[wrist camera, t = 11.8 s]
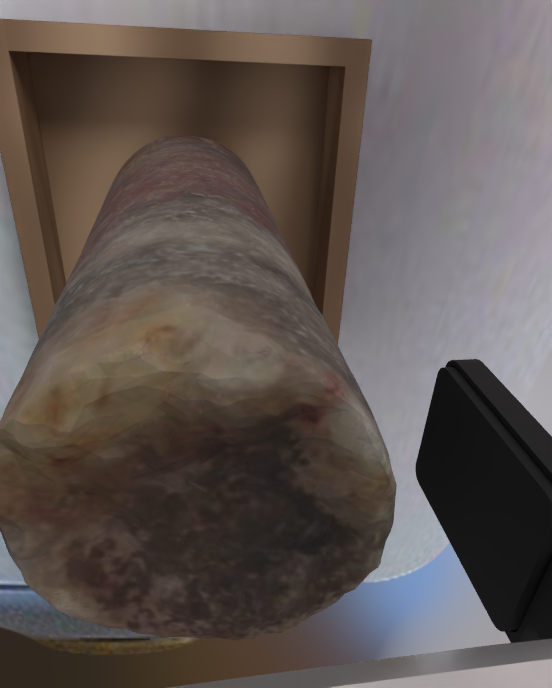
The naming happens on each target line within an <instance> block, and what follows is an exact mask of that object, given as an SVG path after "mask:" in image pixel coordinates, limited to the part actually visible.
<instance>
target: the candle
mask: <svg viewBox="0 0 552 688" xmlns="http://www.w3.org/2000/svg"><path fill="white" fill-rule="evenodd" d="M395 495H396V482H395V478H394V475H393V472H392V469H391V464H390V459H389V454H388V451H387V448H386V446H385V443H384V441H383V439H382V436H381V434H380V431H379V429H378V426H377V424H376V421H375V419H374V416H373V414H372V412H371V409H370V407H369V405H368V403H367V401H366V400H365V398H364V396H363V394H362V392H361V390H360V388H359V386H358V384H357V382H356V380H355V378H354V376H353V374H352V373H351V371H350V369H349V367H348V365H347V363H346V361H345V359H344V357H343V355H342V353H341V351H340V349H339V347H338V345H337V343H336V341H335V339H334V337H333V335H332V333H331V331H330V329H329V327H328V325H327V323H326V321H325V319H324V318H323V316H322V315H321V313H320V311H319V310H318V308H317V307H316V305H315V303H314V300H313V298H312V295H311V293H310V291H309V289H308V287H307V285H306V283H305V281H304V279H303V277H302V275H301V273H300V271H299V269H298V267H297V265H296V263H295V261H294V259H293V257H292V256H291V254H290V251H289V250H288V248H287V246H286V244H285V243H284V240H283V238H282V236H281V234H280V231H279V229H278V226H277V224H276V222H275V219H274V217H273V215H272V213H271V212H270V210H269V208H268V206H267V204H266V202H265V200H264V198H263V195H262V193H261V191H260V189H259V187H258V185H257V184H256V182H255V180H254V178H253V177H252V175H251V173H250V171H249V170H248V168H247V167H246V165H245V164H244V163H243V162H242V161H241V160H240V159H239V157H238V156H237V155H236V154H234V153H233V152H232V151H231V150H229V149H228V148H226V147H225V146H224V145H222V144H220V143H218V142H216V141H214V140H210V139H205V138H200V137H195V136H167V137H162V138H160V139H157V140H155V141H153V142H151V143H149V144H147V145H145V146H143V147H141V148H140V149H139V150H138V151H136V152H135V153H134V154H133V155H132V156H131V157H130V158H129V159H128V160H127V161H126V162H125V164H124V165H123V166H122V167H121V169H120V170H119V172H118V173H117V175H116V177H115V179H114V181H113V183H112V185H111V187H110V189H109V191H108V193H107V195H106V198H105V200H104V203H103V205H102V207H101V210H100V212H99V214H98V216H97V218H96V220H95V223H94V225H93V227H92V229H91V231H90V233H89V236H88V238H87V240H86V243H85V245H84V247H83V250H82V253H81V255H80V257H79V258H78V261H77V263H76V265H75V267H74V269H73V271H72V273H71V275H70V277H69V279H68V281H67V283H66V285H65V287H64V289H63V291H62V293H61V295H60V297H59V298H58V300H57V302H56V304H55V306H54V308H53V310H52V312H51V315H50V317H49V320H48V322H47V325H46V327H45V329H44V331H43V333H42V335H41V337H40V339H39V341H38V343H37V345H36V347H35V349H34V351H33V353H32V356H31V358H30V360H29V362H28V365H27V367H26V369H25V371H24V373H23V376H22V378H21V380H20V381H19V383H18V385H17V387H16V389H15V390H14V392H13V394H12V397H11V399H10V401H9V403H8V405H7V407H6V409H5V412H4V414H3V417H2V419H1V421H0V531H1V533H2V536H3V539H4V541H5V544H6V547H7V549H8V552H9V554H10V556H11V557H12V559H13V561H14V562H15V564H16V565H17V567H18V568H19V569H20V571H21V573H22V575H23V578H24V580H25V582H26V584H27V585H28V586H29V587H30V588H31V589H32V590H33V591H35V592H36V593H37V594H38V595H39V596H41V597H42V598H43V599H45V600H46V601H47V602H48V603H49V604H50V605H51V606H52V607H53V608H54V609H56V610H58V611H60V612H62V613H64V614H66V615H68V616H70V617H73V618H76V619H80V620H85V621H88V622H91V623H94V624H98V625H101V626H106V627H110V628H121V629H128V630H131V631H133V632H136V633H139V634H150V635H155V636H160V637H197V638H222V639H230V640H243V639H252V638H256V637H259V636H262V635H266V634H271V633H281V632H282V631H284V630H286V629H289V628H291V627H294V626H296V625H298V624H300V623H301V622H303V621H304V620H306V619H307V618H309V617H310V616H312V615H313V614H316V613H318V612H321V611H323V610H324V609H326V608H327V607H329V606H330V605H332V604H333V603H335V602H337V601H338V600H339V599H340V598H341V597H342V596H343V595H344V594H345V593H347V592H349V591H352V590H354V589H355V588H356V587H357V586H358V585H359V584H360V583H361V582H362V581H363V580H364V579H365V578H366V577H367V576H368V575H369V573H370V572H372V571H373V570H375V569H376V568H378V566H379V565H380V563H381V557H382V553H383V549H384V545H385V542H386V539H387V537H388V535H389V533H390V531H391V528H392V525H393V519H394V506H395Z"/></svg>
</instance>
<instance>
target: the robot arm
mask: <svg viewBox="0 0 552 688" xmlns="http://www.w3.org/2000/svg"><path fill="white" fill-rule="evenodd" d="M416 476H417V480H418V482H419V484H420V486H421V488H422V490H423V492H424V494H425V496H426V498H427V500H428V501H429V503H430V505H431V507H432V509H433V511H434V513H435V515H436V517H437V518H438V520H439V522H440V524H441V526H442V528H443V530H444V532H445V534H446V535H447V537H448V539H449V541H450V543H451V545H452V547H453V549H454V551H455V552H456V554H457V556H458V558H459V560H460V562H461V564H462V566H463V568H464V569H465V571H466V573H467V575H468V577H469V579H470V581H471V583H472V584H473V587H474V588H475V590H476V592H477V594H478V596H479V598H480V599H481V602H482V603H483V605H484V607H485V609H486V611H487V613H488V615H489V616H490V618H491V620H492V622H493V624H494V625H495V627H496V628H497V629H498V630H500V631H505V632H506V634H507V636H508V638H509V640H510V642H511V643H508V644H498V645H490V646H482V647H474V648H466V649H459V650H451V651H443V652H435V653H428V654H419V655H411V656H403V657H396V658H388V659H380V660H372V661H365V662H356V663H349V664H341V665H334V666H326V667H318V668H311V669H303V670H296V671H288V672H280V673H273V674H266V675H258V676H250V677H243V678H235V679H228V680H221V681H213V682H205V683H198V684H190V685H183V686H175V687H168V688H552V437H551V435H550V434H549V433H548V432H547V431H546V430H545V429H544V428H543V427H542V426H541V425H540V424H539V423H538V421H537V420H536V419H535V418H534V417H533V416H532V415H531V414H530V413H529V412H528V411H527V410H526V409H525V408H524V406H523V405H522V404H521V403H520V402H519V401H518V400H517V399H516V398H515V397H514V396H513V395H512V394H511V393H510V391H509V390H508V389H507V388H506V387H505V386H504V385H503V384H502V383H501V382H500V381H499V380H498V379H497V378H496V376H495V375H494V374H493V373H492V372H491V371H490V370H489V369H488V368H487V367H486V366H485V365H484V364H483V363H482V362H481V361H480V360H477V359H470V360H451V361H449V362H448V363H447V365H446V367H445V368H441V369H440V370H439V372H438V375H437V379H436V383H435V387H434V391H433V395H432V399H431V404H430V408H429V412H428V416H427V420H426V424H425V429H424V433H423V437H422V441H421V445H420V450H419V454H418V458H417V462H416Z"/></svg>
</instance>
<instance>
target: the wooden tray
mask: <svg viewBox="0 0 552 688" xmlns="http://www.w3.org/2000/svg"><path fill="white" fill-rule="evenodd" d="M371 44H372V40H370V39H352V38H334V37H316V36H299V35H281V34H263V33H245V32H227V31H209V30H191V29H174V28H156V27H138V26H120V25H102V24H84V23H66V22H49V21H31V20H13V19H0V151H1V156H2V161H3V166H4V171H5V176H6V181H7V185H8V190H9V195H10V200H11V205H12V210H13V215H14V220H15V224H16V229H17V234H18V239H19V244H20V249H21V254H22V258H23V263H24V268H25V273H26V278H27V283H28V288H29V292H30V297H31V302H32V307H33V312H34V317H35V322H36V327H37V331H38V336H39V339H40V337H41V335H42V333H43V331H44V329H45V327H46V325H47V322H48V320H49V317H50V315H51V312H52V310H53V308H54V306H55V304H56V302H57V300H58V298H59V297H60V295H61V293H62V291H63V289H64V287H65V285H66V283H67V281H68V279H69V277H70V275H71V273H72V271H73V269H74V267H75V265H76V263H77V261H78V258H79V257H80V255H81V253H82V250H83V247H84V245H85V243H86V240H87V238H88V236H89V233H90V231H91V229H92V227H93V225H94V223H95V220H96V218H97V216H98V214H99V212H100V210H101V207H102V205H103V203H104V200H105V198H106V195H107V193H108V191H109V189H110V187H111V185H112V183H113V181H114V179H115V177H116V175H117V173H118V172H119V170H120V169H121V167H122V166H123V165H124V164H125V162H126V161H127V160H128V159H129V158H130V157H131V156H132V155H133V154H134V153H135V152H136V151H138V150H139V149H140V148H141V147H143V146H145V145H147V144H149V143H151V142H153V141H155V140H157V139H160V138H162V137H167V136H195V137H200V138H205V139H210V140H214V141H216V142H218V143H220V144H222V145H224V146H225V147H226V148H228V149H229V150H231V151H232V152H233V153H234V154H236V155H237V156H238V157H239V159H240V160H241V161H242V162H243V163H244V164H245V165H246V167H247V168H248V170H249V171H250V173H251V175H252V177H253V178H254V180H255V182H256V184H257V185H258V187H259V189H260V191H261V193H262V195H263V198H264V200H265V202H266V204H267V206H268V208H269V210H270V212H271V213H272V215H273V217H274V219H275V222H276V224H277V226H278V229H279V231H280V234H281V236H282V238H283V240H284V243H285V244H286V246H287V248H288V250H289V251H290V254H291V256H292V257H293V259H294V261H295V263H296V265H297V267H298V269H299V271H300V273H301V275H302V277H303V279H304V281H305V283H306V285H307V287H308V289H309V291H310V293H311V295H312V298H313V300H314V303H315V305H316V307H317V308H318V310H319V311H320V313H321V315H322V316H323V318H324V319H325V321H326V323H327V325H328V327H329V329H330V331H331V333H332V335H333V337H334V339H335V341H336V343H337V345H338V338H339V329H340V321H341V312H342V303H343V294H344V285H345V276H346V267H347V258H348V249H349V240H350V231H351V222H352V213H353V205H354V196H355V187H356V178H357V169H358V160H359V151H360V142H361V133H362V124H363V115H364V106H365V97H366V89H367V80H368V71H369V62H370V53H371Z"/></svg>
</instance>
